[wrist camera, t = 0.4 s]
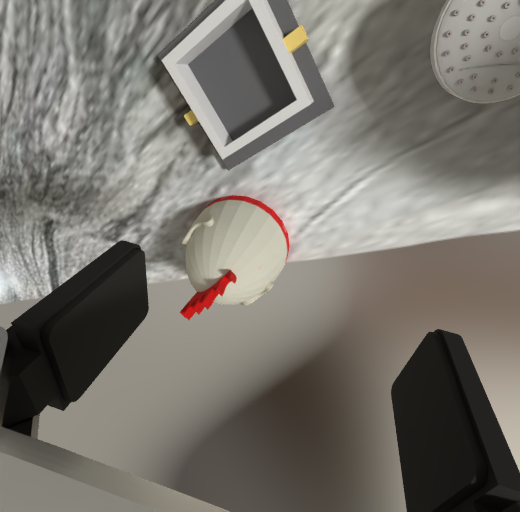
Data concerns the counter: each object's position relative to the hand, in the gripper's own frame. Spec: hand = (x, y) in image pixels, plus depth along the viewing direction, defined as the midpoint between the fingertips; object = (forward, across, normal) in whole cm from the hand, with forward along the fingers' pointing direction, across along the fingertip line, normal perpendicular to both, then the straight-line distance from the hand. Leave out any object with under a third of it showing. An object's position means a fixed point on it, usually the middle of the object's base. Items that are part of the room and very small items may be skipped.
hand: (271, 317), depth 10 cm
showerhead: (+29, -10, -11) cm, 33 cm away
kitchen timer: (+29, +8, +16) cm, 34 cm away
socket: (+29, +10, -4) cm, 31 cm away
